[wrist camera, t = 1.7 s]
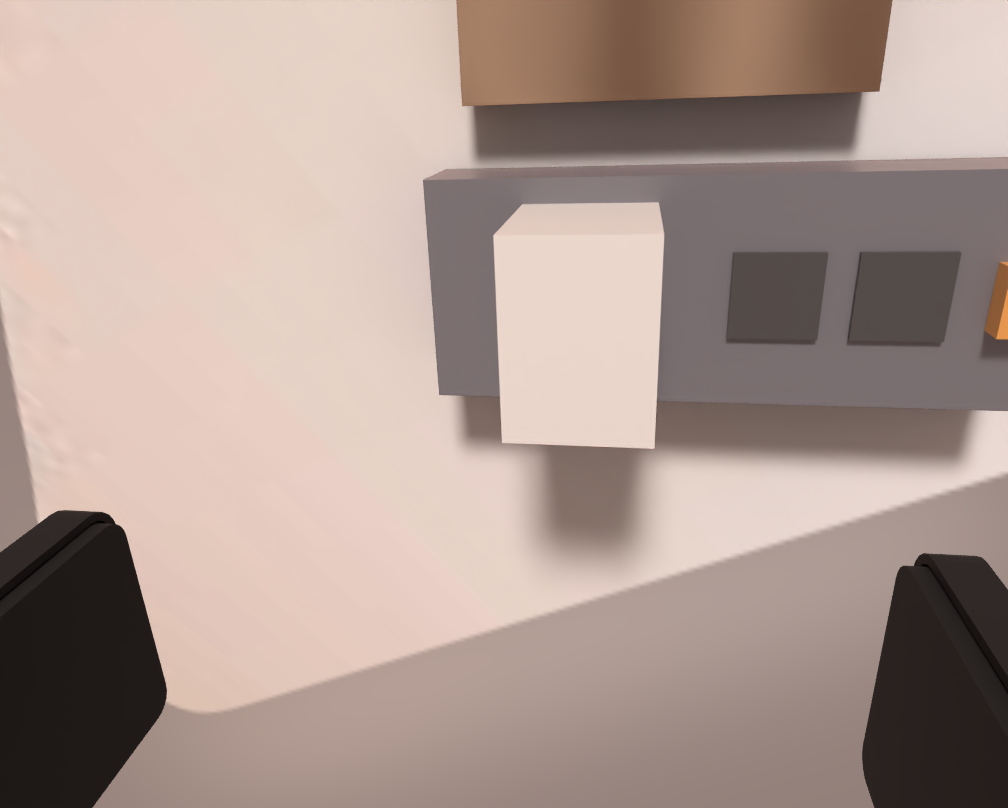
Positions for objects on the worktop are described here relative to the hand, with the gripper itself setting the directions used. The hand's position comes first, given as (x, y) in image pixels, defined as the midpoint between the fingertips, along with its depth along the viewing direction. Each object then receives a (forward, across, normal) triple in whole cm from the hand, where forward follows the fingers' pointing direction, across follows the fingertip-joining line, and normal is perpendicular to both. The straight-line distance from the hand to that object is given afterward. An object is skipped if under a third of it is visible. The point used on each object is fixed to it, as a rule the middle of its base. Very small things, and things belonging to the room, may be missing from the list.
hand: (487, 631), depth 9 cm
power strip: (+19, -4, 0) cm, 19 cm away
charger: (+17, 0, 0) cm, 17 cm away
